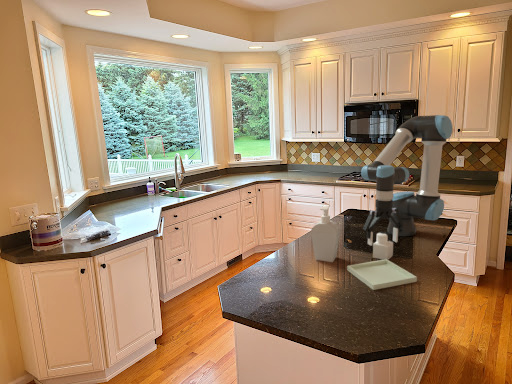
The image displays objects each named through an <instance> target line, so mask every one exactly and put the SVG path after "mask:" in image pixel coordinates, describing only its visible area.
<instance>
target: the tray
mask: <svg viewBox="0 0 512 384" xmlns="http://www.w3.org/2000/svg"><path fill="white" fill-rule="evenodd" d="M346 270H347V271H348V272H349V273H350V274H351V275H353V276H354V277H356V278H357V279H358V280H359V281H361V282H362V283H363V284H365V285H366V286H367V287H369V288H370V289H371V290H373V291H374V290H375V291H376V290H380V289H386V288H391V287H396V286H401V285H407V284H411V283H417V282H418V277H417V276H416V275H414V274H413V273H412V272H409V271H408V270H406V269H404V268H403V267H400V266H399V265H397V264H396V263H394V262H392V261H390V259H389V260H387V259H384V260H382V259H378V260H374V261H366V262H361V263H356V264H349V265H347V266H346Z"/></svg>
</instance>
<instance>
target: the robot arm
mask: <svg viewBox="0 0 512 384" xmlns="http://www.w3.org/2000/svg"><path fill="white" fill-rule="evenodd" d="M453 129H454V128H453V122H452V120H451V118H450V117H449V116H448V115H445V114H444V115H442V114H435V115H417V116H414V117H411V118H409V119H408V120H406V121H404V122H403V123H402V124H400V125H399V127H398V128H397V129H396V131H395V135H394V136H393V137H392V138H391V140H390V141H389V142H388V143H387V144H386V146H385V147H384V148H383V149H382V151H381V152H380V153H379V154H378V155H377V157H376V158H375V159H374V160H373V162H372V163H371V164H367V165H364V166H363V167H362V168H361V170H360V175H361V177H362V179H363V180H366V181H370V182H376V183H375V185H376V186H375V198H376V199H375V210H371V209H370V210H369V211H368V216H367V219H366V220H365V223H364V226H363V227H362V230H363V231H364V232H366V239H367V245H369V246H372V247H373V243H374V241H373V240H374V239H373V237H374V235H373V234H374V232H373V229H374V228H375V227H376V226H377V224H378V223H379V222H380V221H382V220H389V222H388V226H387V230H386V231H387V233H389V234H390V235H392V242H395V243H398V242H399V241H398V240H399V239H398V238H399V237H412V236H415V235H416V233H417V228H416V224H415V222H414V218H418V219H423V220H426V221H437V220H438V219H440V217H441V216H442V214H443V212H444V210H445V201H444V200H443V199H442V198H441V194H440V193H439V192H438V190H439V182H440V181H439V180H440V172H441V171H440V170H441V162H442V154H443V153H442V151H443V146H444V145H445V144H447V140H448V139H450V138H451V137H452V135H453ZM415 139H421V141H420V142H421V144H423V155H422V162H421V163H422V164H421V174H420V183H419V190H418V191H417V192H414V191H399V192H394V186H396V185H399V184H403V183H405V182H408V180H409V179H410V171H409V169H408V168H406V167H404V166H398V167H394V166H393V165H391V164H393V162H394V161H395V160H396V158H397V157H398V155H400V153H401V152H402V151H403V149H404V148H405V147H406V145H407V144H409V143H411V142H412V141H413V140H415Z"/></svg>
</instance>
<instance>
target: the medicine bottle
mask: <svg viewBox="0 0 512 384" xmlns="http://www.w3.org/2000/svg"><path fill="white" fill-rule="evenodd" d="M393 256H394V241H391V234H390V233H388V231H387V232H386V231H379V232H377V233H376V240H375V242H373V243H372V258H373V259H378V260H384V259H387V260H389V261H390V259H391V258H392V257H393Z"/></svg>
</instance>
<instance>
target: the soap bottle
mask: <svg viewBox="0 0 512 384" xmlns="http://www.w3.org/2000/svg"><path fill="white" fill-rule="evenodd" d="M330 207H331V205H330V204H324V205H322V206H321V208H320V210H321V211H323V214H322V215H321V214H320V219H321V220H319V221H318V222H316V223H315V225H313V227H311V228H310V229H311V230H310V237H311V242H312V248H313V254H314V259H315V261H322V262H328V263H334V261H335V259H336V258H337V254H338V248H339V244H340V243H339V242H340V235H341V232H342V231H341V230H342V229H341V226H340V225H339V224H338V223H337V222H336V221H333V220H331V215H330V214H328V213H329V208H330Z"/></svg>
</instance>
